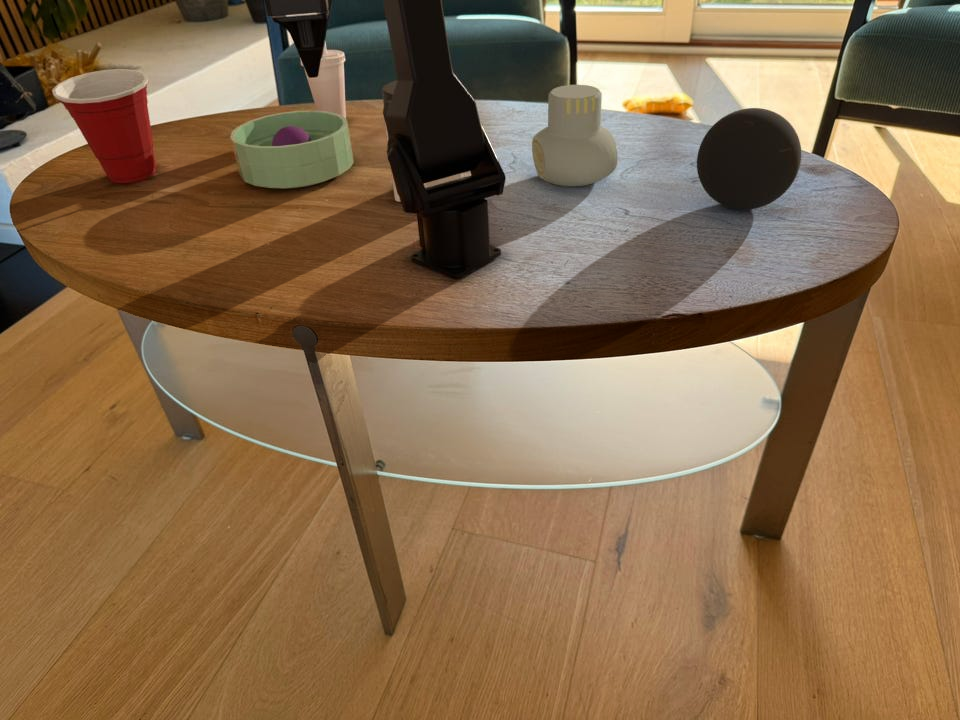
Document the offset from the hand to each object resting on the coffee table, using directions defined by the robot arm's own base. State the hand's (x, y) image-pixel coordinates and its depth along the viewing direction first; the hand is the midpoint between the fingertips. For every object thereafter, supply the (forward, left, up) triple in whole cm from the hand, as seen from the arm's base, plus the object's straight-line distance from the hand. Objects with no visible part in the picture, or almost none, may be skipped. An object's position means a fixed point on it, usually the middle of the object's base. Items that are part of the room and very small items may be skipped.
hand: (315, 67), depth 85 cm
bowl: (+2, +4, -12) cm, 13 cm away
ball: (+2, +4, -9) cm, 10 cm away
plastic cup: (+19, +18, -12) cm, 29 cm away
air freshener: (-28, -14, -12) cm, 34 cm away
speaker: (-47, -18, -12) cm, 52 cm away
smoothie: (+14, -11, -12) cm, 22 cm away
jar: (-17, -1, -12) cm, 21 cm away
